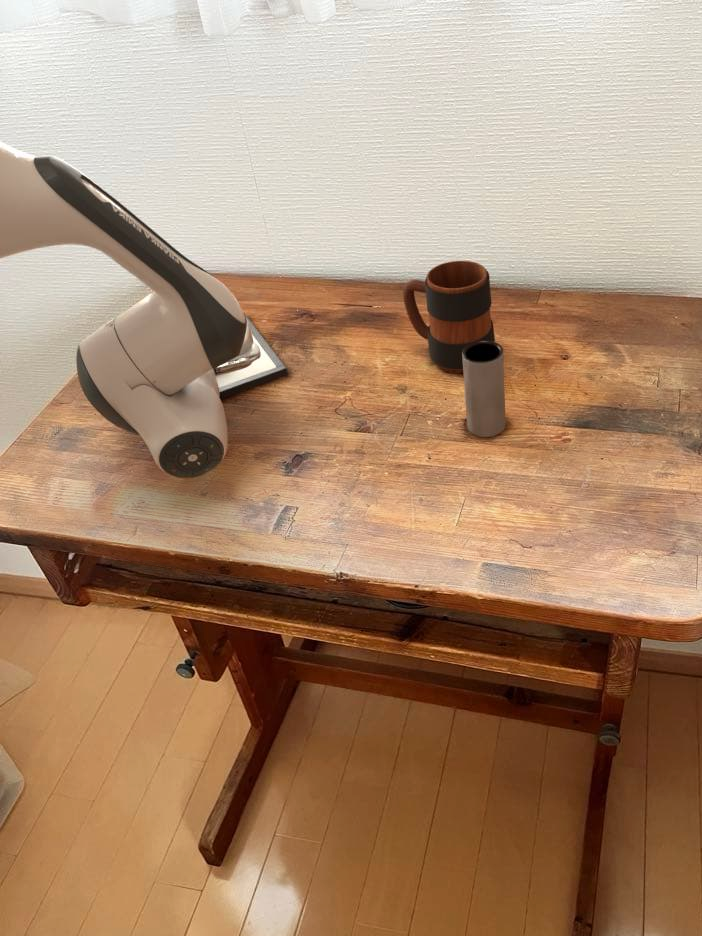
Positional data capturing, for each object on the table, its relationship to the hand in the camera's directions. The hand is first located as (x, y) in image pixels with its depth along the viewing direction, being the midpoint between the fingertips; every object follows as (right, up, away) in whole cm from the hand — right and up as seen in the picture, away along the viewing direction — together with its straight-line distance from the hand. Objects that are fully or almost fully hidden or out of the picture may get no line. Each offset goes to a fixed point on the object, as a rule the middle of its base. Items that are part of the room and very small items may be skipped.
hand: (169, 327), depth 110 cm
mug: (+37, -4, 0) cm, 38 cm away
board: (+3, -4, +5) cm, 7 cm away
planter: (+41, -15, -11) cm, 45 cm away
